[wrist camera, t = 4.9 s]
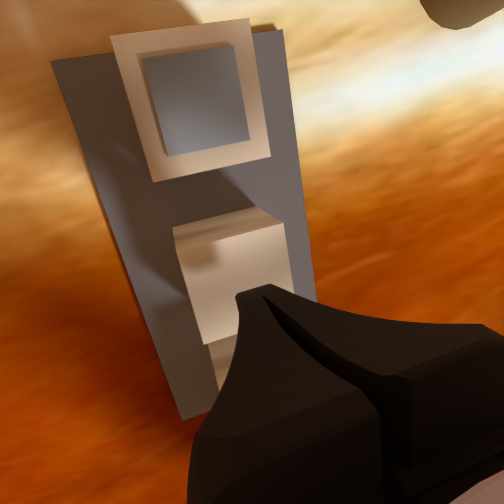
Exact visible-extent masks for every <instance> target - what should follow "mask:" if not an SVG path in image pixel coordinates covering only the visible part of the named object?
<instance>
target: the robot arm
mask: <svg viewBox="0 0 504 504" xmlns="http://www.w3.org/2000/svg"><path fill="white" fill-rule="evenodd" d="M235 300H236V304H237V308H238V312H239V324H238V333H237V340H236V345H235V350H234V354H233V358H232V361H231V364H230V367H229V370H228V373H227V376H226V378H225V381H224V383H223V385H222V388H221V390H220V392H219V394H218V396H217V398H216V400H215V402H214V404H213V406H212V408H211V410H210V412H209V413H208V415H207V416H206V418H205V420H204V421H203V423H202V425H201V426H200V428H199V430H198V431H197V433H196V434H195V436H194V440H193V445H192V452H191V458H190V465H189V473H188V485H187V504H504V336H502V335H500V334H499V333H497V332H495V331H493V330H491V329H490V328H488V327H486V326H484V325H482V324H433V323H418V322H405V321H395V320H388V319H381V318H375V317H369V316H363V315H359V314H354V313H350V312H346V311H342V310H338V309H335V308H332V307H329V306H325V305H322V304H319V303H317V302H314V301H311V300H309V299H306V298H303V297H301V296H299V295H296V294H294V293H292V292H289V291H287V290H285V289H282V288H280V287H278V286H276V285H273V284H270V283H269V284H266V285H263V286H259V287H256V288H253V289H249V290H246V291H243V292H239V293H237V294H236V296H235Z"/></svg>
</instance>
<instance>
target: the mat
mask: <svg viewBox="0 0 504 504" xmlns="http://www.w3.org/2000/svg"><path fill="white" fill-rule="evenodd" d="M252 39H253V45H254V52H255V58H256V64H257V71H258V77H259V84H260V90H261V96H262V103H263V109H264V115H265V122H266V128H267V135H268V141H269V147H270V154H271V157H267V158H262V159H258V160H253V161H249V162H244V163H240V164H235V165H231V166H226V167H222V168H217V169H212V170H208V171H203V172H199V173H194V174H190V175H185V176H181V177H176V178H172V179H167V180H163V181H158V182H154V183H153V180H152V177H151V173H150V170H149V167H148V163H147V160H146V157H145V153H144V150H143V147H142V143H141V140H140V137H139V133H138V130H137V127H136V123H135V120H134V117H133V113H132V110H131V106H130V103H129V100H128V96H127V93H126V90H125V86H124V83H123V80H122V76H121V73H120V70H119V66H118V63H117V60H116V56H115V53H107V54H100V55H92V56H85V57H78V58H71V59H63V60H56V61H50V62H51V64H52V67H53V70H54V73H55V75H56V78H57V81H58V84H59V86H60V89H61V92H62V94H63V97H64V100H65V103H66V105H67V108H68V111H69V114H70V116H71V119H72V122H73V124H74V127H75V130H76V133H77V135H78V138H79V141H80V144H81V146H82V149H83V152H84V154H85V157H86V160H87V163H88V165H89V168H90V171H91V174H92V176H93V179H94V182H95V184H96V187H97V190H98V193H99V195H100V198H101V201H102V204H103V206H104V209H105V212H106V214H107V217H108V220H109V223H110V225H111V228H112V231H113V234H114V236H115V239H116V242H117V244H118V247H119V250H120V253H121V255H122V258H123V261H124V264H125V266H126V269H127V272H128V274H129V277H130V280H131V283H132V285H133V288H134V291H135V294H136V296H137V299H138V302H139V304H140V307H141V310H142V313H143V315H144V318H145V321H146V324H147V326H148V329H149V332H150V334H151V337H152V340H153V343H154V345H155V348H156V351H157V354H158V356H159V359H160V362H161V365H162V367H163V370H164V373H165V375H166V378H167V381H168V384H169V386H170V389H171V392H172V395H173V397H174V400H175V403H176V405H177V408H178V411H179V414H180V416H181V419H182V421H185V420H187V419H190V418H193V417H195V416H198V415H201V414H203V413H206V412H209V411H210V410H211V408H212V406H213V404H214V402H215V400H216V398H217V396H218V394H219V392H220V391H219V388H218V383H217V379H216V375H215V371H214V367H213V363H212V359H211V355H210V351H209V347H208V344H205V345H204V344H203V341H202V337H201V334H200V330H199V327H198V324H197V320H196V317H195V313H194V310H193V307H192V303H191V300H190V297H189V293H188V290H187V286H186V283H185V280H184V276H183V273H182V269H181V266H180V263H179V259H178V256H177V253H176V247H175V241H174V235H173V229H172V227H175V226H179V225H183V224H187V223H191V222H195V221H199V220H203V219H207V218H211V217H215V216H219V215H223V214H227V213H231V212H235V211H239V210H243V209H247V208H251V207H255V206H257V207H258V208H260V209H262V210H263V211H265V212H266V213H268V214H270V215H271V216H273V217H275V218H276V219H278V220H279V221H281V222H283V224H284V230H285V237H286V243H287V250H288V256H289V263H290V269H291V276H292V282H293V289H294V294H296V295H299V296H301V297H303V298H306V299H309V300H311V301H314V302H317V299H316V291H315V283H314V275H313V268H312V260H311V252H310V244H309V236H308V228H307V220H306V212H305V204H304V196H303V188H302V180H301V172H300V164H299V156H298V148H297V140H296V132H295V124H294V116H293V108H292V100H291V92H290V84H289V76H288V68H287V60H286V52H285V45H284V37H283V29H281V30H273V31H266V32H259V33H252Z"/></svg>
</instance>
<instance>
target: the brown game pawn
mask: <svg viewBox="0 0 504 504" xmlns="http://www.w3.org/2000/svg"><path fill="white" fill-rule="evenodd" d="M420 2H421V4H422V5H423V7H424V9H425V10H426V12H427V14H428V15H429V17H430V18H431V19H432V20H434V21H435V22H436V23H437V24H439V25H440V26H441V27H444V28H449V29H453V30H458V29H462V28H467V27H470V26H472V25H474V24H476V23H477V22H479V21H481V20H483V19H485V18H486V17H488V16H490V15H492V14H494V13H495V12H497V11H499V10H501V9H503V8H504V0H420Z"/></svg>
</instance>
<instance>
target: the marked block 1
mask: <svg viewBox="0 0 504 504" xmlns="http://www.w3.org/2000/svg"><path fill="white" fill-rule="evenodd" d="M110 40H111V43H112V46H113V50H114V53H115V56H116V60H117V63H118V66H119V70H120V73H121V76H122V80H123V83H124V86H125V90H126V93H127V96H128V100H129V103H130V106H131V110H132V113H133V117H134V120H135V123H136V127H137V130H138V133H139V137H140V140H141V143H142V147H143V150H144V153H145V157H146V160H147V163H148V167H149V170H150V173H151V177H152V180H153V183H154V182H158V181H163V180H167V179H172V178H176V177H181V176H185V175H190V174H194V173H199V172H203V171H208V170H212V169H217V168H222V167H226V166H231V165H235V164H240V163H244V162H249V161H253V160H258V159H262V158H267V157H271V154H270V147H269V141H268V135H267V128H266V122H265V115H264V109H263V103H262V96H261V90H260V84H259V77H258V71H257V64H256V58H255V52H254V45H253V39H252V32H251V26H250V20H249V18H244V19H236V20H228V21H220V22H213V23H205V24H197V25H189V26H181V27H173V28H166V29H158V30H150V31H142V32H134V33H126V34H119V35H111V36H110Z"/></svg>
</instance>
